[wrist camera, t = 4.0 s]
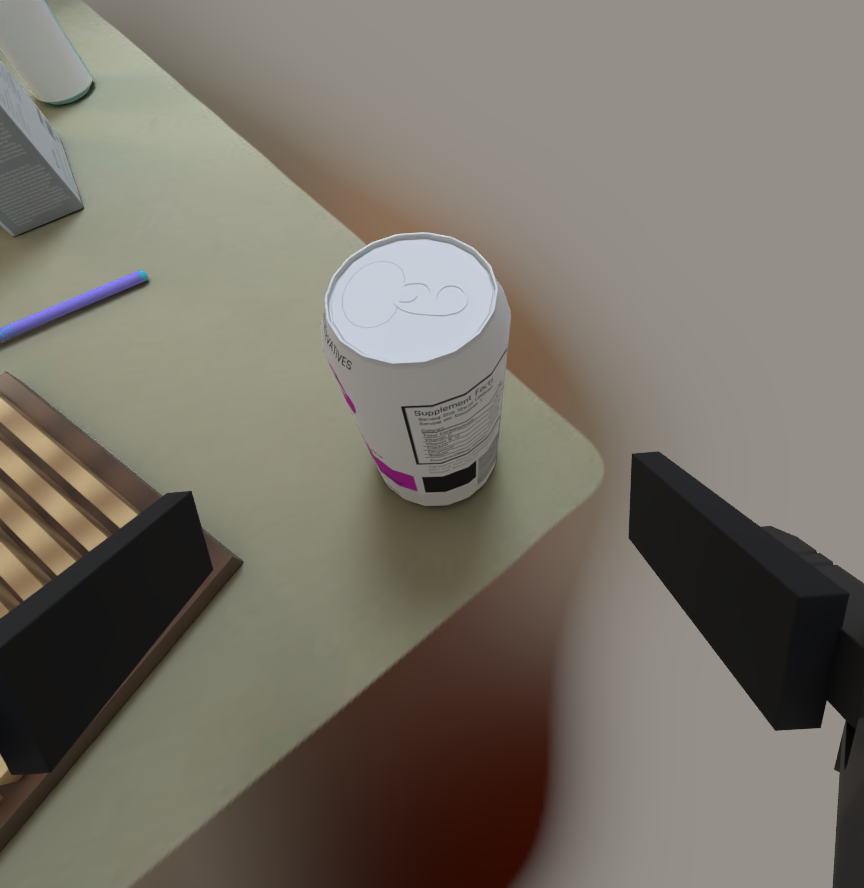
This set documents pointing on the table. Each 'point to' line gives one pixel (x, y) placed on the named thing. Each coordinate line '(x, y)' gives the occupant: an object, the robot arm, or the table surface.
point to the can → (42, 52)
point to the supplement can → (421, 361)
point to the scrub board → (68, 547)
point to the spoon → (72, 305)
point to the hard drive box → (30, 163)
